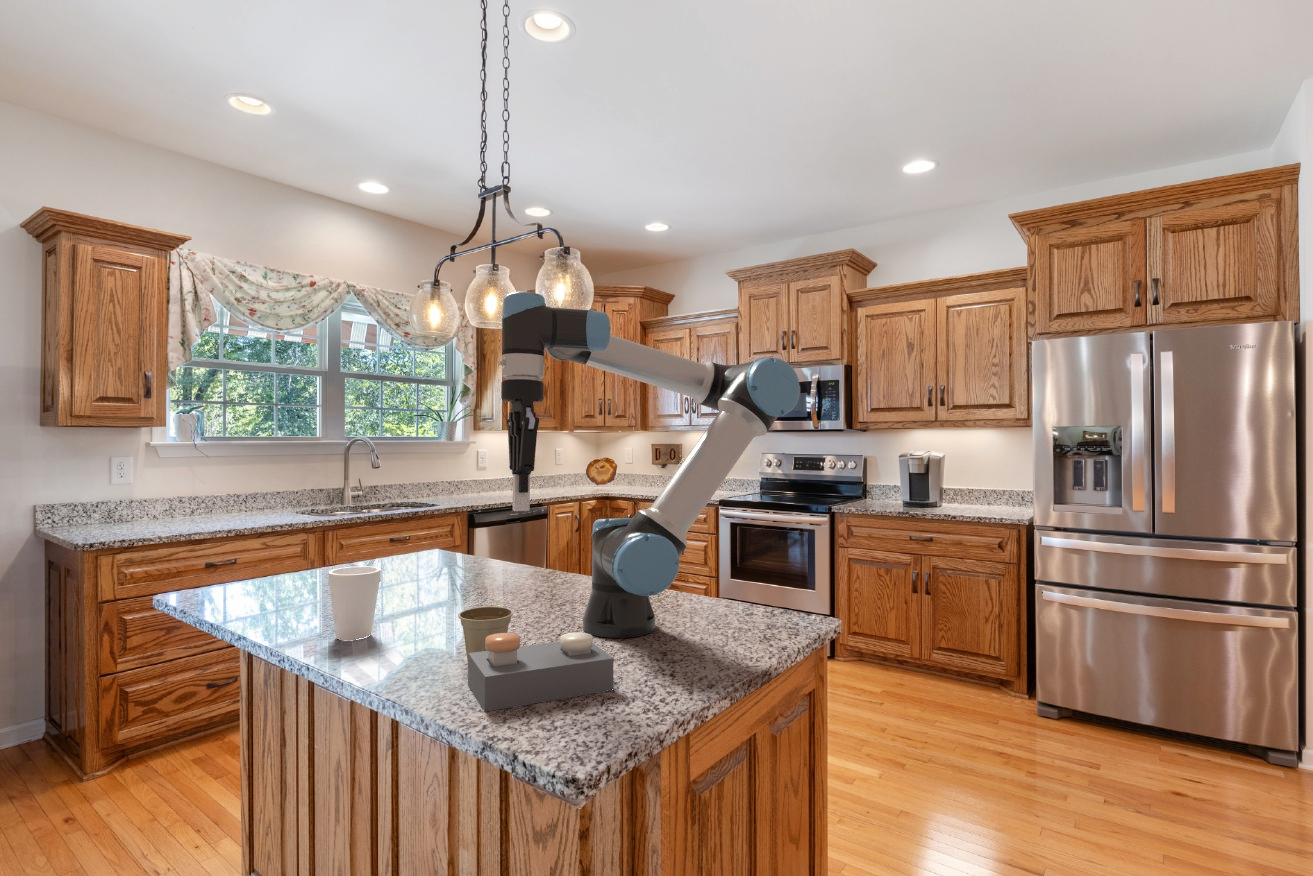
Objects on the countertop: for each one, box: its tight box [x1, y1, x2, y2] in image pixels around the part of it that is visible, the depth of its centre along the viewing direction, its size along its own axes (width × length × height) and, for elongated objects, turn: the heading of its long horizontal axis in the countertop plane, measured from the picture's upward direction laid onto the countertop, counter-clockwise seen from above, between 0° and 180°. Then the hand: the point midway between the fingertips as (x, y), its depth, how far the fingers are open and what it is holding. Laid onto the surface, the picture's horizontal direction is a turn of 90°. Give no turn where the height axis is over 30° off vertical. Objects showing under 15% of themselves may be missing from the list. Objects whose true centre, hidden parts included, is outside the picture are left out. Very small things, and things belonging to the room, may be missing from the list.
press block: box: [467, 641, 615, 713], centre depth 106 cm, size 20×12×5 cm, turn 117°
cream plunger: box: [559, 631, 594, 656], centre depth 109 cm, size 5×5×7 cm
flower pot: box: [457, 606, 514, 663], centre depth 118 cm, size 9×9×9 cm
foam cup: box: [327, 565, 382, 641], centre depth 133 cm, size 10×9×13 cm
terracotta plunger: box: [485, 632, 521, 667], centre depth 104 cm, size 5×5×7 cm
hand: (521, 510), depth 121 cm, fingers closed
